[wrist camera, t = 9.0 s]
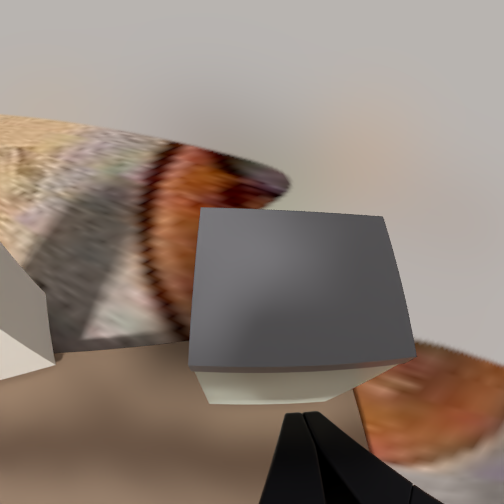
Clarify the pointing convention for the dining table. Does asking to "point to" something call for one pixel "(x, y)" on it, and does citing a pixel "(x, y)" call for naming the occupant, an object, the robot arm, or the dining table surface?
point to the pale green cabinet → (294, 305)
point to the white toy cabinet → (22, 321)
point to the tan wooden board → (139, 432)
